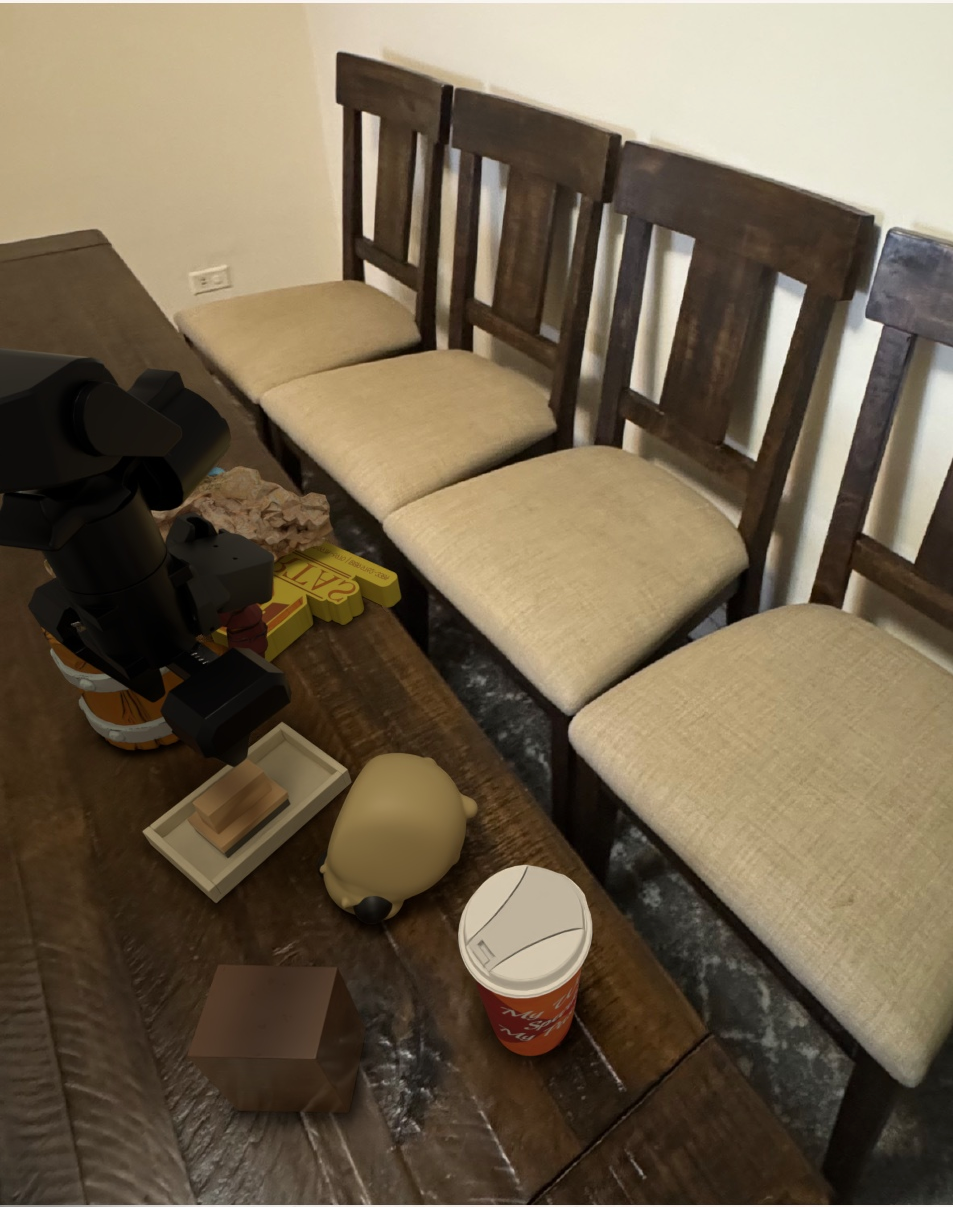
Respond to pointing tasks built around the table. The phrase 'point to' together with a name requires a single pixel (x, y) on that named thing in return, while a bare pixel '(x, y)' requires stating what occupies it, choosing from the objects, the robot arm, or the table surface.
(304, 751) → the tray
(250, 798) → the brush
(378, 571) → the decorative sign
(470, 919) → the paper cup
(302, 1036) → the brown block
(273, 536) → the rock
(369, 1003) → the table surface
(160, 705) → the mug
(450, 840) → the tan animal figurine
